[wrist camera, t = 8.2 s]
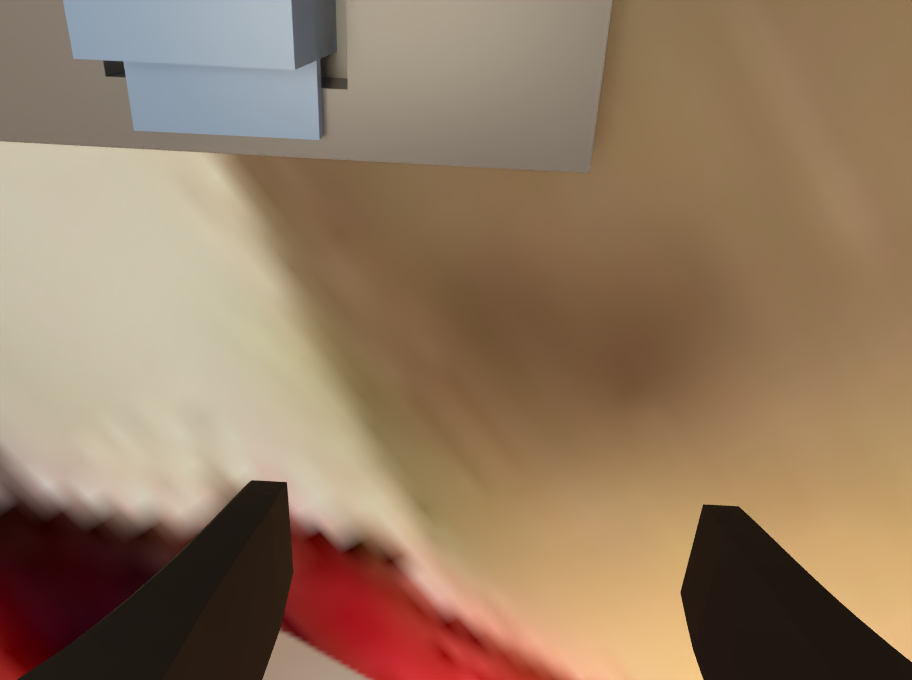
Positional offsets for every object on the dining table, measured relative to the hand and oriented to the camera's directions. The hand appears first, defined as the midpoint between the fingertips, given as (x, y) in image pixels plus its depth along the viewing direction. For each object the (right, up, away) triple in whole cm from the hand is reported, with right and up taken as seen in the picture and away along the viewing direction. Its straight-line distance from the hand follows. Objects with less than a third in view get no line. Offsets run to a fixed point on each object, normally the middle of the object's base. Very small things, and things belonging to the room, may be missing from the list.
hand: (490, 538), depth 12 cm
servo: (-5, +13, +3) cm, 14 cm away
